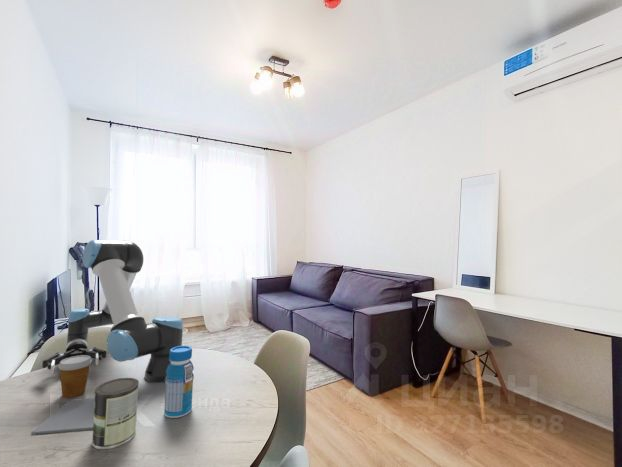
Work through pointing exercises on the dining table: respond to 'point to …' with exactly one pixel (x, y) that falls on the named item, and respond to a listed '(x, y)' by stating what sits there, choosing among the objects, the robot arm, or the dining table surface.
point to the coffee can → (115, 413)
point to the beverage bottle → (179, 382)
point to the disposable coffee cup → (74, 375)
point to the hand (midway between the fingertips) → (75, 365)
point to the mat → (70, 418)
